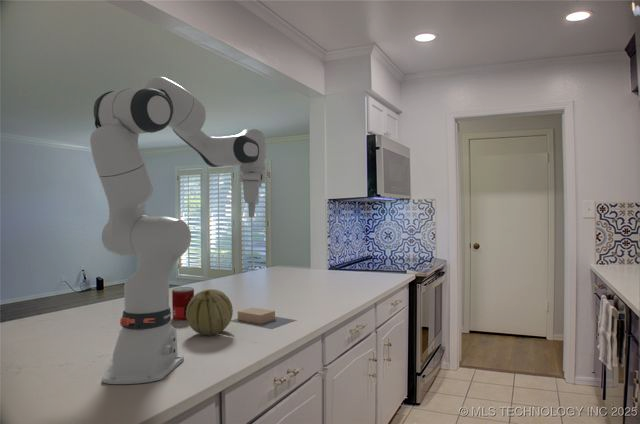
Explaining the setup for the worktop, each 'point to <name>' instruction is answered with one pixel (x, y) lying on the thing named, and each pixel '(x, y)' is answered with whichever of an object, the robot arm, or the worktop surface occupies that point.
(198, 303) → the cantaloupe
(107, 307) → the worktop surface
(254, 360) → the worktop surface
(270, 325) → the mat
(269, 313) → the block
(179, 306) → the canned food
